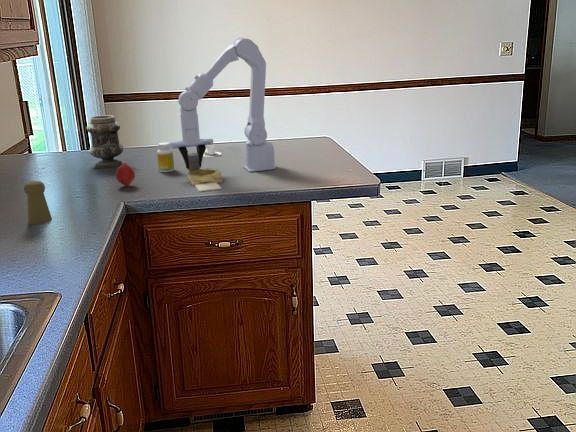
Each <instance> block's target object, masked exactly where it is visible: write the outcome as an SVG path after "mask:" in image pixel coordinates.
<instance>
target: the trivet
mask: <svg viewBox="0 0 576 432" xmlns="http://www.w3.org/2000/svg"><path fill="white" fill-rule="evenodd" d="M194 186H195V188H196V190H197V191H198V192H199V193H200V192H202V193H203V192H209V191H216V190H217V191H218V190H222V187H221V186H220V185H219V183H217V182H216V183H207V184H199V185H194Z"/></svg>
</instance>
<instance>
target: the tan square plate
mask: <svg viewBox="0 0 576 432" xmlns="http://www.w3.org/2000/svg"><path fill="white" fill-rule="evenodd" d="M187 180H188V182H190V184H191V185H192V186H195V185H199V184H207V183H216V182H217V184H219V183H224V178H222V177H221V178H219V179H217V180H215V181H207V182H196V181H191V180H190V179H189V175H187Z"/></svg>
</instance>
